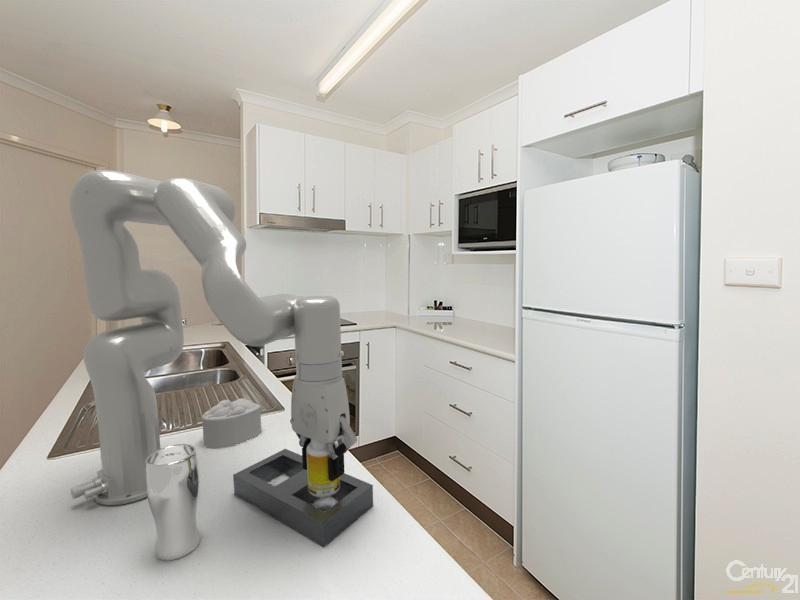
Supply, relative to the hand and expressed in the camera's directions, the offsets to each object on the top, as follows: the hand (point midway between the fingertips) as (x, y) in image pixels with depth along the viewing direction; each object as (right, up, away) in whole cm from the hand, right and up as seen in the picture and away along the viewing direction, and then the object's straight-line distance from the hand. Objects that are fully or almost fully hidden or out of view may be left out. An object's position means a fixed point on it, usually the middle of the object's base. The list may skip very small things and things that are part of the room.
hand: (323, 470), depth 67 cm
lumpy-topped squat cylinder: (-29, -5, +30) cm, 42 cm away
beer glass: (-21, -9, -7) cm, 24 cm away
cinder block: (-5, -7, +4) cm, 10 cm away
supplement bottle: (0, -4, 0) cm, 4 cm away
